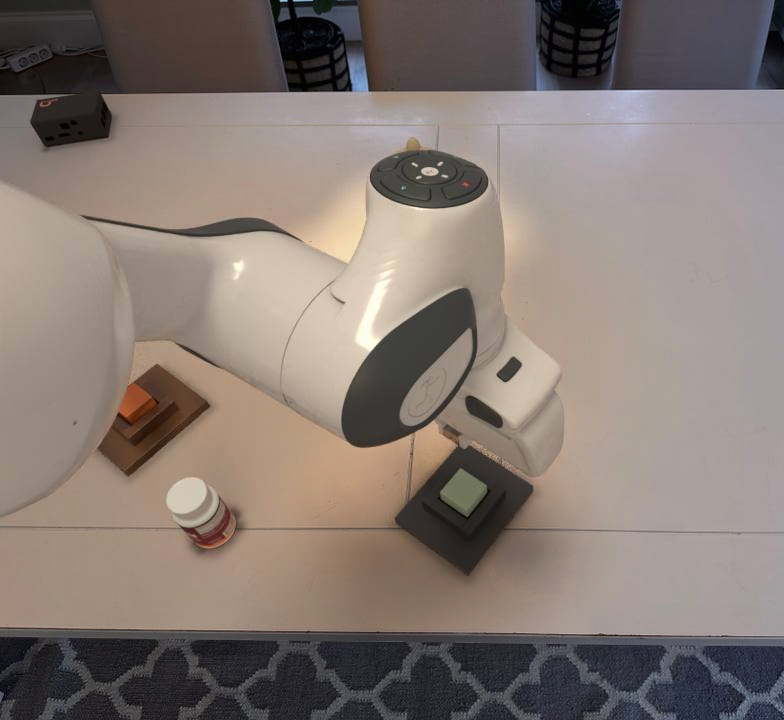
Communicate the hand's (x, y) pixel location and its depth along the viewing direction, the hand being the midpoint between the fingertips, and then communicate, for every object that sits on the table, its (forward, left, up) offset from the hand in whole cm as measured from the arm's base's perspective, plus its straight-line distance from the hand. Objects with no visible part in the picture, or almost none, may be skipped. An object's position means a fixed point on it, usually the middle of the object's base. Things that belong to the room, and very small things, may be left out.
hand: (457, 436), depth 63 cm
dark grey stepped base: (0, 0, -15) cm, 15 cm away
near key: (0, 0, -13) cm, 13 cm away
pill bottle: (-18, +21, -15) cm, 32 cm away
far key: (-14, +39, -12) cm, 43 cm away
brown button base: (-14, +39, -15) cm, 44 cm away
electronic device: (+17, +101, -15) cm, 104 cm away
